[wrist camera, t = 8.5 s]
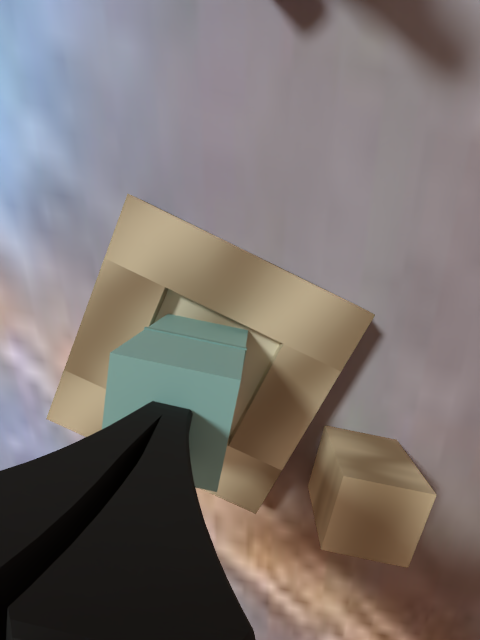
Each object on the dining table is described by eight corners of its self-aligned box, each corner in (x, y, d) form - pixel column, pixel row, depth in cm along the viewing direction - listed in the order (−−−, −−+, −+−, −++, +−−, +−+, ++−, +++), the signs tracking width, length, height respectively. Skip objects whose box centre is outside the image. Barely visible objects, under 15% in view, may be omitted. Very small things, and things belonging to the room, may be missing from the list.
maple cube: (395, 438, 17) (436, 494, 13) (375, 498, 18) (408, 568, 14) (324, 424, 17) (343, 475, 13) (307, 484, 18) (321, 549, 14)
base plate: (361, 307, 15) (375, 315, 14) (256, 488, 18) (255, 513, 16) (143, 200, 15) (127, 193, 13) (67, 402, 18) (46, 418, 16)
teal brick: (249, 329, 15) (242, 379, 9) (233, 404, 16) (218, 493, 10) (167, 312, 15) (108, 351, 9) (156, 388, 16) (96, 467, 10)
